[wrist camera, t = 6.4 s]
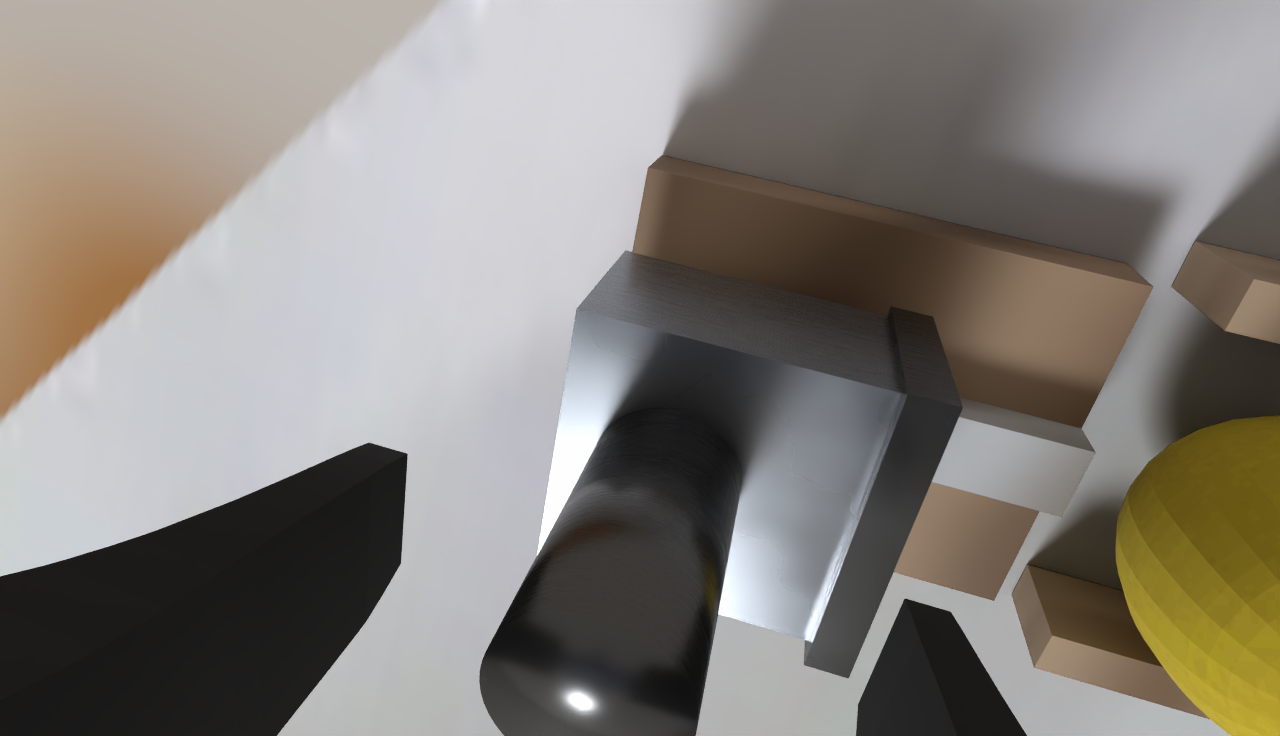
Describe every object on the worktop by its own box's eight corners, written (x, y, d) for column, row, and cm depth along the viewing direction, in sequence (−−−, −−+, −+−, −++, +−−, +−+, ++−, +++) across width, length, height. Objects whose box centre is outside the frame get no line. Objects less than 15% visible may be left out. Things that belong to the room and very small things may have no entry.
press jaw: (932, 316, 15) (1035, 627, 7) (845, 547, 17) (855, 955, 10) (627, 240, 16) (440, 456, 8) (584, 474, 18) (411, 802, 11)
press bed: (1127, 264, 16) (1173, 304, 14) (982, 560, 20) (1002, 630, 18) (662, 155, 18) (637, 176, 15) (603, 454, 21) (577, 507, 19)
